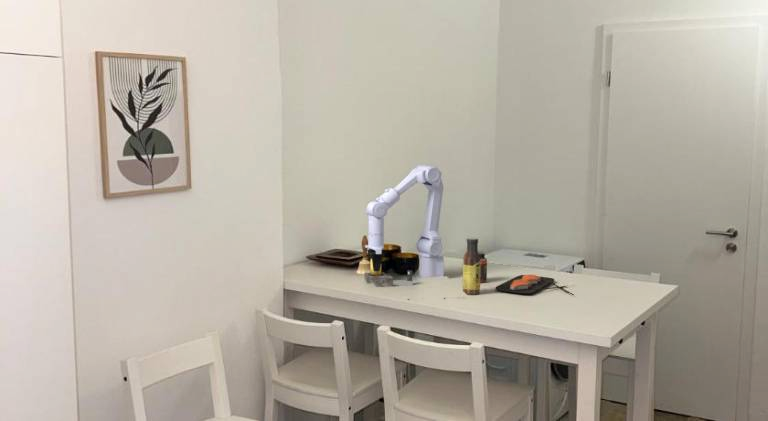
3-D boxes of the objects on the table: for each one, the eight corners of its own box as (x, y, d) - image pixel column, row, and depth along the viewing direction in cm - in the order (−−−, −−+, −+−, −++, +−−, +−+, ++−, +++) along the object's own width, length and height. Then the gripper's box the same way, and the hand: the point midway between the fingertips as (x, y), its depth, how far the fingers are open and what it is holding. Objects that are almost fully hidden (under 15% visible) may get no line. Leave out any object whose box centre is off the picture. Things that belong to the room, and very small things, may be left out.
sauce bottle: (479, 295, 267) (480, 240, 264) (461, 294, 268) (462, 239, 265) (480, 291, 273) (482, 237, 271) (463, 290, 274) (464, 236, 272)
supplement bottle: (486, 280, 292) (487, 251, 291) (486, 283, 286) (487, 254, 285) (470, 279, 293) (471, 251, 291) (471, 283, 287) (471, 253, 285)
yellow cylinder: (379, 273, 285) (380, 256, 284) (382, 276, 281) (382, 258, 280) (369, 274, 284) (369, 257, 283) (371, 276, 280) (371, 259, 280)
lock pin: (411, 283, 279) (411, 270, 278) (412, 284, 277) (412, 271, 276) (390, 284, 277) (390, 271, 277) (391, 285, 276) (391, 272, 275)
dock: (406, 279, 292) (406, 268, 292) (414, 289, 275) (415, 278, 275) (362, 280, 289) (362, 269, 289) (368, 290, 273) (368, 279, 272)
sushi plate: (521, 278, 298) (521, 269, 298) (597, 288, 283) (597, 278, 282) (492, 293, 273) (492, 283, 273) (573, 304, 258) (574, 293, 258)
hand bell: (375, 277, 294) (375, 237, 292) (353, 277, 295) (353, 237, 293) (375, 273, 303) (376, 234, 301) (354, 273, 303) (355, 233, 301)
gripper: (362, 231, 287) (362, 266, 289) (368, 237, 273) (367, 274, 275) (381, 230, 288) (380, 265, 290) (387, 236, 274) (386, 273, 276)
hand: (375, 269), depth 283 cm, fingers closed on yellow cylinder, 4 cm apart
